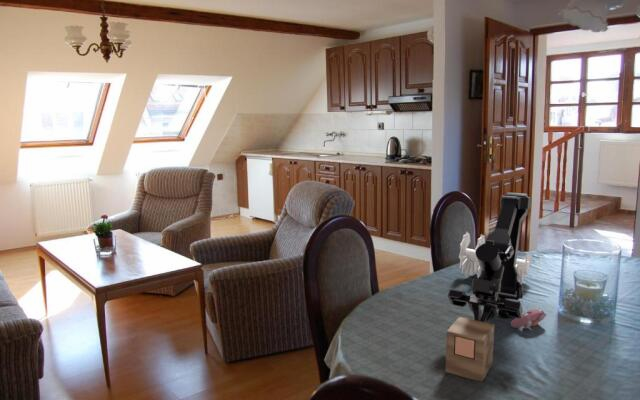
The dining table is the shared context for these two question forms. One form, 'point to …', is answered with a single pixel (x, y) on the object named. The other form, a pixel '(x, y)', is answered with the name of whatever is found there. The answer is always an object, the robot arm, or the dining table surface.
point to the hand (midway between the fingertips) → (477, 332)
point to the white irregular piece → (471, 263)
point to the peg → (465, 347)
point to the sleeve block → (483, 349)
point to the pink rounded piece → (529, 319)
